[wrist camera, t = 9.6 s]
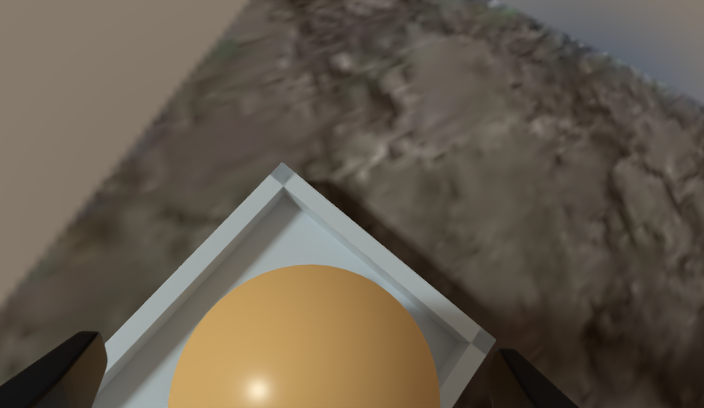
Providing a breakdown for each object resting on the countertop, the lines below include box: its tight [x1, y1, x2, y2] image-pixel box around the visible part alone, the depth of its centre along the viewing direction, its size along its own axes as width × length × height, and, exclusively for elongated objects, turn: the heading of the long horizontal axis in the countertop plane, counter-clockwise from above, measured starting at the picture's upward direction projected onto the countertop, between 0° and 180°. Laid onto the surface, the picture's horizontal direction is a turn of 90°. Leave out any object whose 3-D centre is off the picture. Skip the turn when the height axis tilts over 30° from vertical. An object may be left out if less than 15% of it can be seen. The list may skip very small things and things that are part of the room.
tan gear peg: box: [168, 264, 440, 408], centre depth 12 cm, size 6×6×13 cm
